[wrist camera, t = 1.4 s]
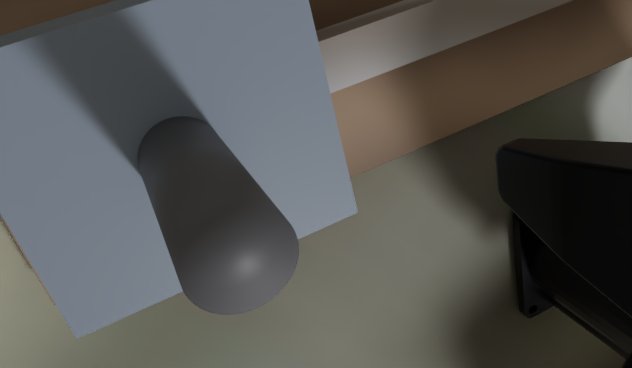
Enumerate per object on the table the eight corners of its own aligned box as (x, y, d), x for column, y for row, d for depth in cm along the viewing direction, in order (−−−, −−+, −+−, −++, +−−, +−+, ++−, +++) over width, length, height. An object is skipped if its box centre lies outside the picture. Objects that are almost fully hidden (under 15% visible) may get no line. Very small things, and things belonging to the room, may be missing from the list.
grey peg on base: (312, 171, 19) (467, 312, 12) (73, 271, 17) (86, 514, 10) (254, -49, 15) (421, -35, 8) (-56, 44, 13) (-179, 166, 6)
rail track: (654, 34, 24) (703, 42, 23) (54, 288, 18) (54, 328, 16) (671, -211, 20) (733, -226, 18) (-113, 9, 14) (-140, 21, 12)
